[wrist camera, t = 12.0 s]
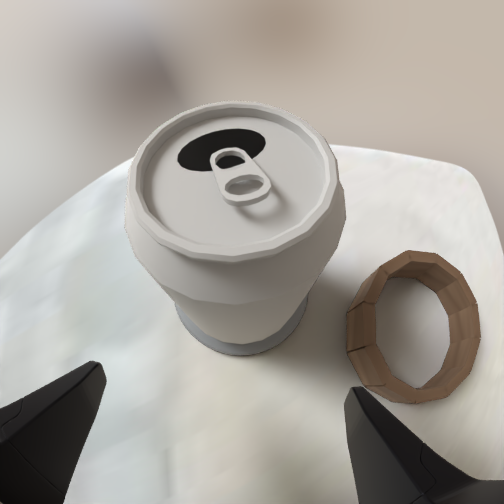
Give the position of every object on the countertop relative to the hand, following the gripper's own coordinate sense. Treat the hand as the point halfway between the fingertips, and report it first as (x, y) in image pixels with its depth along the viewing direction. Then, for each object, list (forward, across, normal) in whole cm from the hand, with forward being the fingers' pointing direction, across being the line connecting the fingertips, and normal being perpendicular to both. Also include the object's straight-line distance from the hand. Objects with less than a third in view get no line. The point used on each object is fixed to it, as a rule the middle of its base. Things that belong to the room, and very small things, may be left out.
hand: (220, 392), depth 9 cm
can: (+10, 0, +1) cm, 10 cm away
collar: (+8, -12, +3) cm, 15 cm away
